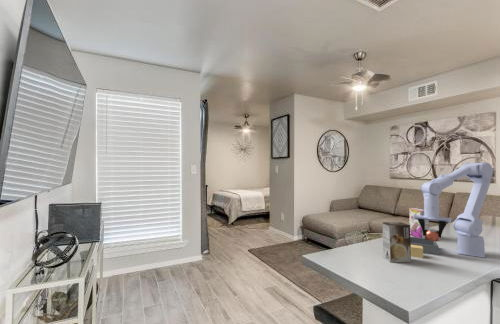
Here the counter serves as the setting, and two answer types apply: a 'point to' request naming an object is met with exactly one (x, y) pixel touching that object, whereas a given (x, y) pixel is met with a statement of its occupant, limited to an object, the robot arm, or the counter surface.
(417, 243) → the tote
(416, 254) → the tan block
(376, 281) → the counter surface
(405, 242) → the coffee box
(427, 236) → the bean tin
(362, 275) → the counter surface
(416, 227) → the candy bar box
